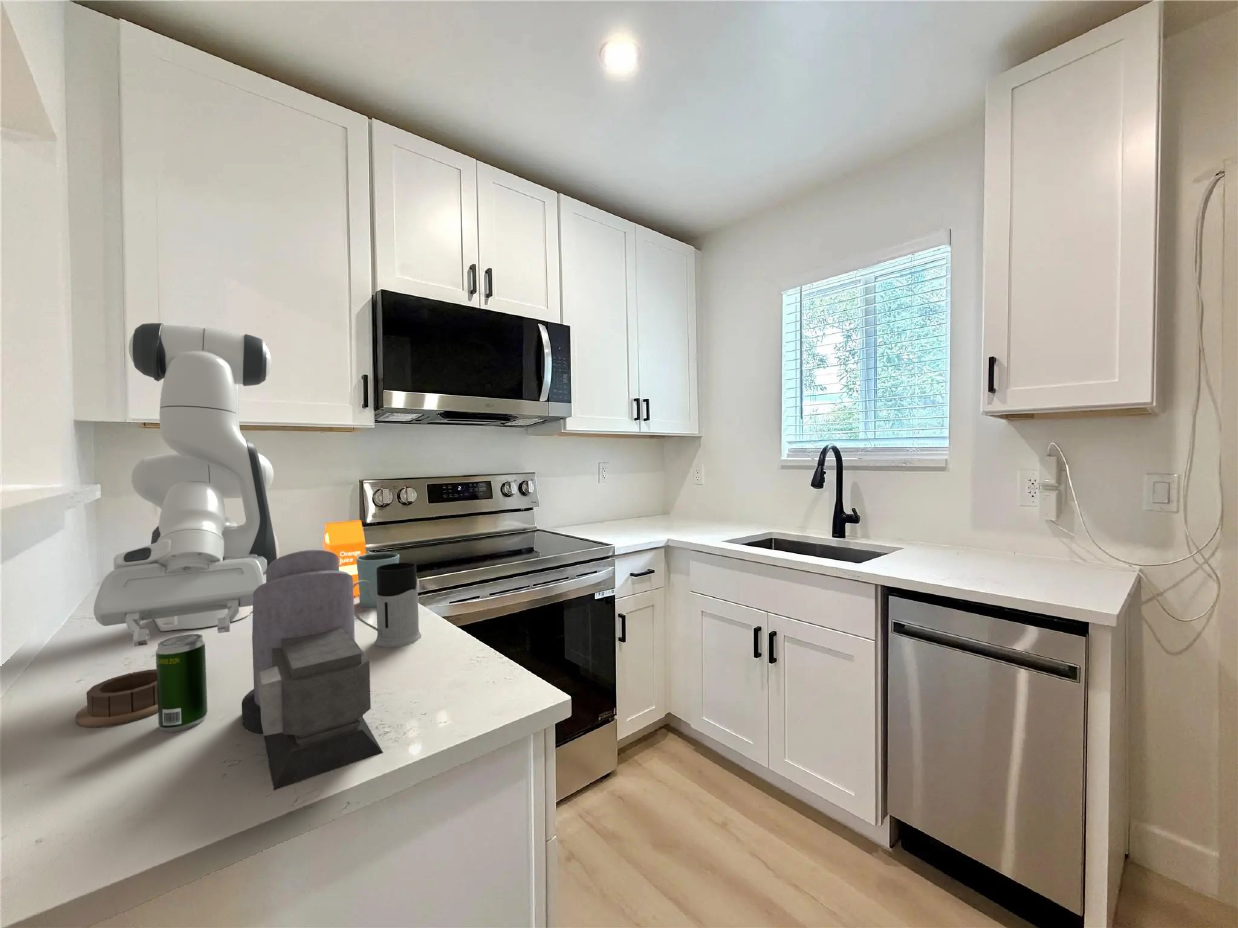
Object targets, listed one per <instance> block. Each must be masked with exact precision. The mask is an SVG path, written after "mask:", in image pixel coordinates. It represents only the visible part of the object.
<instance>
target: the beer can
mask: <svg viewBox="0 0 1238 928" xmlns="http://www.w3.org/2000/svg"><path fill="white" fill-rule="evenodd" d="M206 664H207V661H206V641H205V640H204V636H203V635H202V634H199V633H190V634H189V633H188V634H181V635H178V636H172V637H169V638H166V639H163V640H161V641H160V642H157V649H156V650H155V666H156V667H155V669H156V673H157V700H158V713H157V719H158V720H157V721H158V727H159V728H160V730H161V731H163V732H165V733H173V732H175V733H176V732H179V731H184V730H187V729H190V728H192V727H195V726H198V725H199V724H200V723H201V724H202V722H203V721H204V720H205V719H206V716H207V714H208V689H207V688H208V687H207V665H206Z"/></svg>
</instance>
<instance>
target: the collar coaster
mask: <svg viewBox="0 0 1238 928" xmlns="http://www.w3.org/2000/svg"><path fill="white" fill-rule="evenodd" d="M156 714H158V700H157V673H156V668H153V669H145V670H140V671H133V672H129V673H125V674H122V675H118V676H115V677H112V678H109V679H106V680H104V681H102V682H99V683H97V684H95V685H92V687H90V688H89V689H88V690H87V691H86V706H83V707H82V708H81V709H80V710H79V711H77V712H76V714H75V721H76V725H77V726H79V727H83V728H104V727H103V726H106V727H112V726H117V725H123V724H127V723H131V722H135V721H138V720H141V719H145V718H147V717H151V716H153V715H156Z"/></svg>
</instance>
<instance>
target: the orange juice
mask: <svg viewBox="0 0 1238 928" xmlns="http://www.w3.org/2000/svg"><path fill="white" fill-rule="evenodd" d="M366 548H367V547H366V539H365V533H364V529H363V524H362V519H357V520H348V521H347V520H346V521H345V520H344V521H335V522H326V523H325V531H324V538H323V550H326V551H331V552H333V553H335V554H336V555H337V556H338V557H339V571H344V572H347V573H348V574H350V575H351V576H352V577H353V584H354V583H355V582H357V581H358V571H357V563H356V558H357V557H358V556H361V555H365V554H367V553H366ZM353 594H354V596H355V597H359V596H358V595H359V585H358V584H357V585H356V586H355V587H354V589H353Z"/></svg>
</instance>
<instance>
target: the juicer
mask: <svg viewBox="0 0 1238 928" xmlns="http://www.w3.org/2000/svg"><path fill="white" fill-rule="evenodd" d="M354 599H355V598H354V594H353V577H352V576H351V575H350V574H348V573H347V572H344V571H339V557H338V556H337V555H336V554H335V553H333V552H331V551H326V550H324V549H307V550H302V551H301V550H300V551H295V552H292V553H289V554H285V555H283V556H280V557H278V559H276V560H274V561H273V562H271V563H270V564H269V566H268V567H267V568H266V574H265V583H264V584H262V585H260V586H259V587H258V588H257V589H256V590H255V591H254V593H253V611H252V629H251V630H252V631H251V632H252V633H251V638H252V639H251V642H252V643H251V644H252V645H251V647H252V667H253V668H252V671H253V672H252V674H253V675H252V676H253V689H251V690H250V691H249V692H248V693H246V695H245V696H244V697H243V699H242V700H241V725H242V727H243V728H244V730H246V731H247V732H249V733H251V734H254V735H260V736H263V740H264V744H265V745H264V746H265V751H266V756H267V762H268V768H269V772H270V778H271V782H272V783H271V784H272V789H273V791H277V790H280V789H282V788H285V787H288V786H290V785H294V784H296V783H300V782H302V781H306V780H308V779H311V778H314V777H317V776H321V775H323V774H325V773H329V772H331V771H335V770H337V769H340V768H343V767H346V766H349V765H351V764H355V763H357V762H361V761H364V760H366V759H370V758H372V757H375V756H378V755H381V754H384V751H383V749H382V748H381V746H380V744H379V742H378V741H377V739H376V738H375V736H374V734H373V732H372V730H371V729H370V727H369V725H368V724H367V722H366V720H365V718H364V715H365V714H366V713H367V712H369V711H370V710H371V709H372V706H371V705H372V703H371V702H372V701H371V674H370V673H371V671H370V669H371V668H370V659H369V658H368V656H367V655H366V653H364V651H363V650H362V648H361V647H360V646H359V645H358V643H357V642H356V640H355V635H356V634H355V615H354V608H355V601H354Z"/></svg>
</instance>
